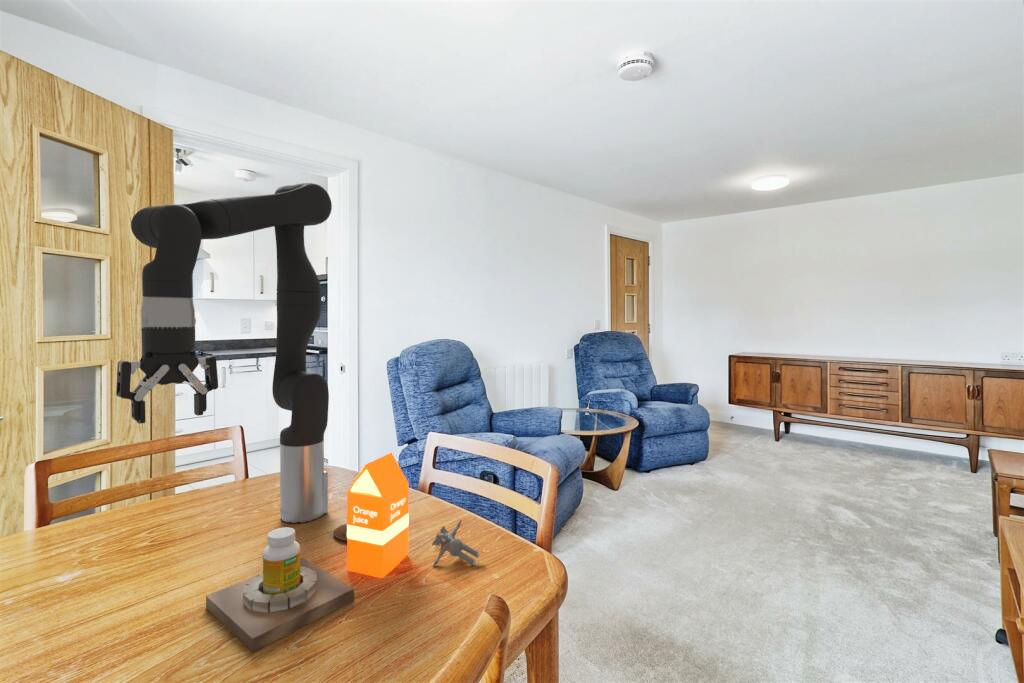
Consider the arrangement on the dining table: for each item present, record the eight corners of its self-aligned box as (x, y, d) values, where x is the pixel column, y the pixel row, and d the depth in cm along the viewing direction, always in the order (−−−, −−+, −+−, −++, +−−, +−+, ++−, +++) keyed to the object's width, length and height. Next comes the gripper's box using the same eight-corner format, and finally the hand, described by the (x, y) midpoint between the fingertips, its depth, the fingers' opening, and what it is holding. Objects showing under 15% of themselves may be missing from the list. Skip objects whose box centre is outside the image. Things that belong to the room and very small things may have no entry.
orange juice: (409, 555, 95) (409, 454, 94) (382, 578, 86) (383, 467, 85) (374, 548, 97) (375, 449, 96) (346, 570, 89) (346, 462, 88)
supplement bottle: (285, 603, 75) (285, 541, 75) (255, 598, 76) (254, 538, 76) (307, 584, 81) (307, 527, 80) (278, 580, 82) (277, 523, 81)
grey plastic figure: (463, 580, 87) (420, 555, 89) (463, 589, 91) (423, 565, 94) (490, 530, 93) (450, 508, 95) (490, 541, 97) (451, 519, 100)
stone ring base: (302, 567, 90) (302, 549, 89) (354, 600, 80) (354, 579, 80) (206, 607, 77) (205, 586, 77) (252, 652, 67) (252, 628, 67)
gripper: (206, 323, 91) (207, 409, 92) (109, 324, 80) (112, 422, 81) (223, 324, 86) (224, 415, 87) (123, 325, 75) (126, 429, 76)
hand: (170, 418), depth 84 cm, fingers open, 8 cm apart
